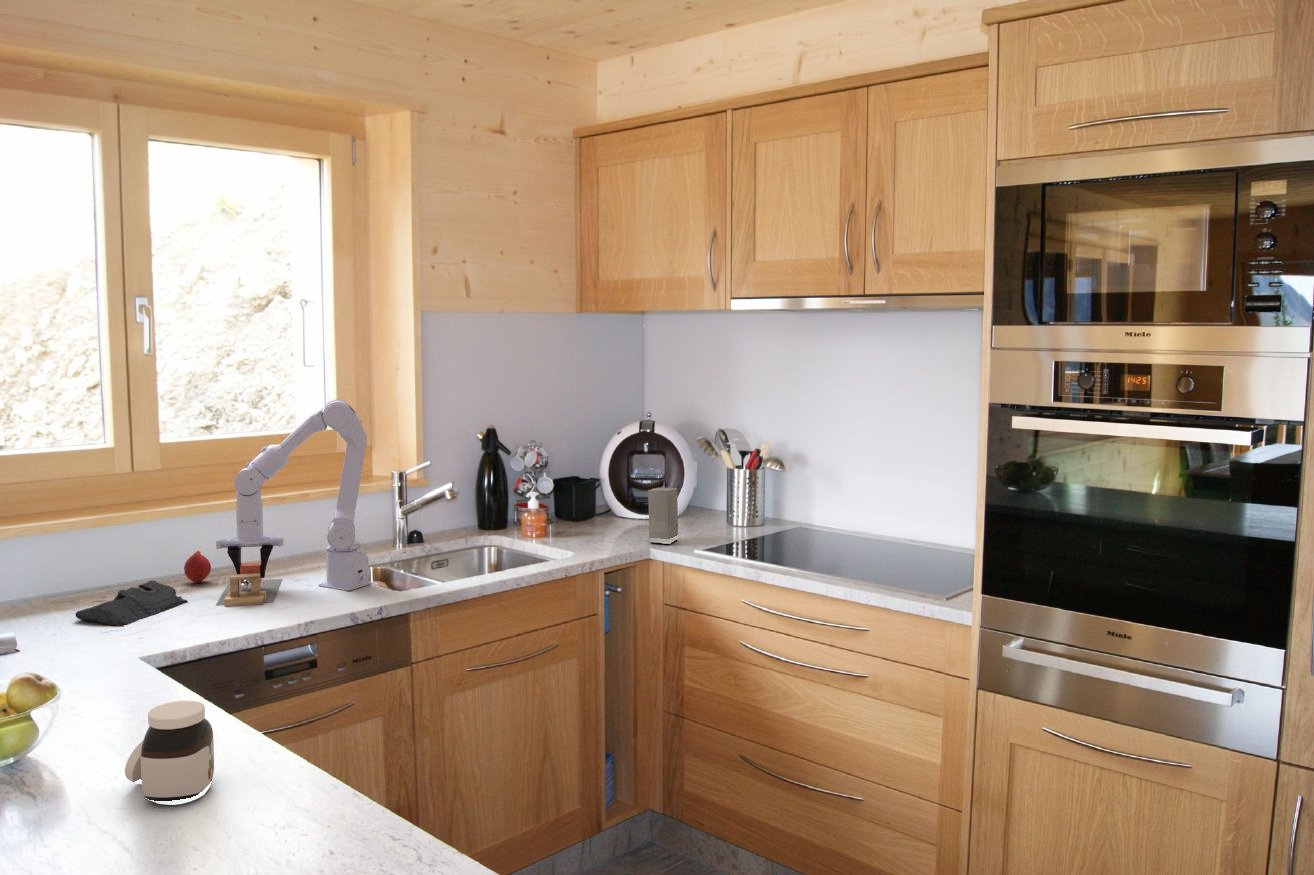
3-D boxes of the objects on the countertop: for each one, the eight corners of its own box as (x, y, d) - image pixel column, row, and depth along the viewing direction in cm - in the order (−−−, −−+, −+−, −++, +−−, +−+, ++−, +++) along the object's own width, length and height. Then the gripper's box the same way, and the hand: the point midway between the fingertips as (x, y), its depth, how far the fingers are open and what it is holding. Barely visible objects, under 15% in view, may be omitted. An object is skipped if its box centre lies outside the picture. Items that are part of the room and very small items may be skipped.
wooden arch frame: (263, 604, 230) (262, 577, 230) (224, 606, 228) (223, 579, 228) (266, 597, 236) (265, 571, 235) (228, 599, 234) (227, 573, 233)
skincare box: (669, 546, 297) (670, 491, 296) (646, 543, 300) (646, 489, 298) (679, 540, 305) (680, 487, 304) (656, 538, 308) (657, 485, 306)
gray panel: (273, 603, 232) (273, 602, 232) (215, 606, 229) (215, 605, 229) (282, 579, 253) (282, 578, 253) (229, 582, 250) (229, 581, 250)
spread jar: (195, 811, 134) (192, 723, 133) (104, 813, 133) (100, 725, 132) (226, 771, 146) (224, 690, 145) (143, 773, 145) (139, 692, 144)
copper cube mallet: (254, 596, 229) (253, 578, 229) (232, 597, 228) (232, 579, 228) (262, 578, 245) (262, 561, 245) (242, 579, 244) (242, 562, 243)
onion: (201, 587, 245) (199, 553, 244) (179, 585, 246) (178, 552, 245) (216, 581, 251) (215, 548, 250) (194, 579, 252) (193, 547, 251)
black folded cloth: (61, 624, 216) (60, 602, 215) (137, 598, 237) (136, 577, 236) (125, 630, 212) (124, 607, 212) (196, 603, 234) (195, 582, 233)
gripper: (213, 524, 235) (215, 583, 237) (281, 522, 239) (282, 580, 241) (218, 518, 242) (219, 575, 244) (284, 516, 246) (285, 572, 247)
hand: (251, 577), depth 243 cm, fingers closed on copper cube mallet, 4 cm apart
